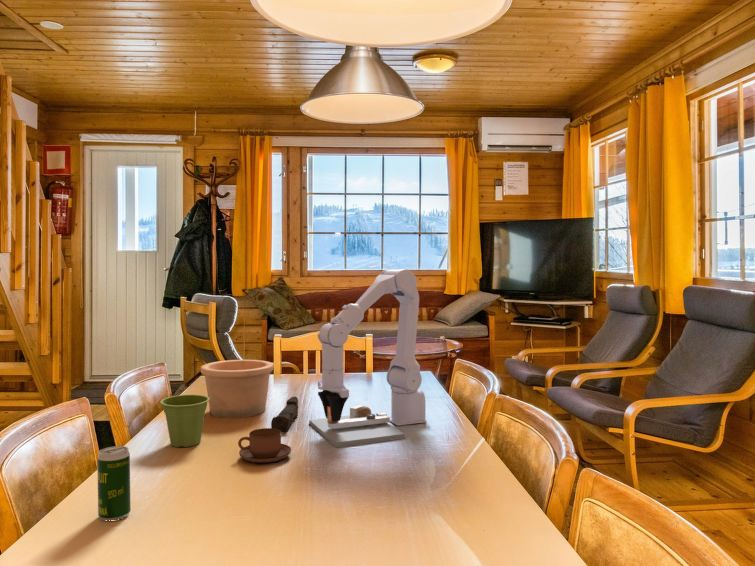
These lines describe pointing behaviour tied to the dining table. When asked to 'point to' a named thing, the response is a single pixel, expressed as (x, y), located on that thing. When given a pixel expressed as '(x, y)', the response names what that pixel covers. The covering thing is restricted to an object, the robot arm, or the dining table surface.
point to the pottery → (237, 387)
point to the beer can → (113, 483)
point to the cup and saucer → (264, 446)
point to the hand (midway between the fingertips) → (332, 419)
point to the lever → (357, 420)
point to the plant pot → (185, 418)
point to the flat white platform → (356, 431)
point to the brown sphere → (364, 412)
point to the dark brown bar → (286, 415)
